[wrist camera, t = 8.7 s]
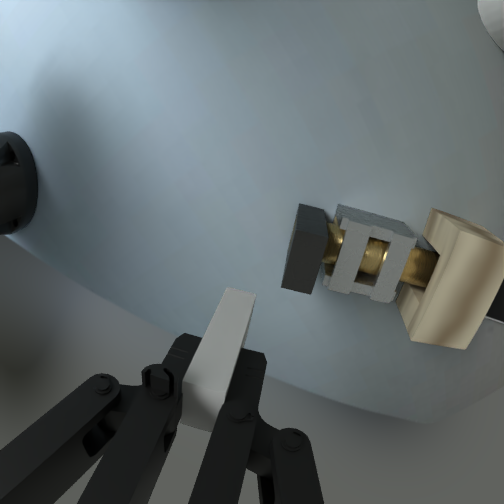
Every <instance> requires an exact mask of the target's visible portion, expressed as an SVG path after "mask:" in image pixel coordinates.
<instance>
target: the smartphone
mask: <svg viewBox="0 0 504 504" xmlns="http://www.w3.org/2000/svg"><path fill="white" fill-rule="evenodd" d="M484 318H487V319H491V320H494V321H497V322H500V323H503V324H504V279H503V281H502V283H501V285H500V288H499V290H498V292H497V294H496V296H495V298H494V300H493V302H492V304H491V306H490V308H489V310H488V312H487V313H486V315H485V317H484Z"/></svg>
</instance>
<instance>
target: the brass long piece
mask: <svg viewBox="0 0 504 504" xmlns="http://www.w3.org/2000/svg"><path fill="white" fill-rule="evenodd" d="M344 233H345V230H343V229H340V228H339V225H336V224H332V223H328V222H326V219H325V213H324V209H320V208H316V207H312V206H308V205H304V204H299V207H298V211H297V215H296V219H295V223H294V227H293V231H292V235H291V239H290V243H289V247H288V252H287V258H286V263H285V269H284V274H283V279H282V285H281V288H286V289H290V290H294V291H298V292H302V293H306V294H311V293H312V290H313V287H314V284H315V281H316V278H317V274H318V271H319V268H320V265H321V262H324V263H328V264H332V265H335V262H336V259H337V255H338V252H339V249H340V246H341V243H342V239H343V236H344ZM388 243H389V242H388V241H384V240H381V239H377V238H373V237H370V236H369V239H368V242H367V245H366V248H365V251H364V254H363V257H362V260H361V263H360V266H359V269H358V271H361V272H365V273H369V274H373V275H377V273H378V271H379V268H380V265H381V263H382V260H383V257H384V254H385V251H386V249H387V246H388ZM439 257H440V254H439V253H436V252H433V251H430V250H426V249H423V248H420V247H416V246H415V247H414V249H413V248H412V249H411V251H410V254H409V257H408V259H407V262H406V264H405V267H404V269H403V272H402V274H401V277H400V279H399V281H401V282H405V283H409V284H413V285H417V286H421V287H425V288H427V286H428V284H429V281H430V279H431V277H432V274H433V272H434V270H435V267H436V265H437V262H438V260H439Z"/></svg>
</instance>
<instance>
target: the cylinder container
mask: <svg viewBox="0 0 504 504" xmlns="http://www.w3.org/2000/svg"><path fill="white" fill-rule="evenodd" d="M478 11H479V14H480V18H481V20H482V22H483V25H484V27H485V28H486V30H487V32H488V33H489V35H490V36H491V38H492V39H493V40H494V42H495V43H496V44H497V45H498V46H499V47H500V48H501V49H502V50H503V51H504V0H478Z"/></svg>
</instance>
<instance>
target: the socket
mask: <svg viewBox="0 0 504 504" xmlns="http://www.w3.org/2000/svg"><path fill="white" fill-rule="evenodd" d="M423 236H424V237H425V239H426V240H427V241H428V242H429V243H430V244H431V245H432V246H433V247H434V249H435V250H436V251H437V252H438V253H439V254H440V257H439V260H438V262H437V265H436V267H435V270H434V272H433V274H432V277H431V279H430V281H429V284H428V286H427V288H425V287H421V286H417V285H413V284H409V283H405V282H404V284H403V286H402V289H401V291H400V293H399V295H398V298H397V300H396V304H397V306H398V309H399V311H400V314H401V316H402V319H403V321H404V324H405V326H406V329H407V332H408V334H409V337H410V340H411V341H416V342H422V343H427V344H433V345H439V346H445V347H451V348H457V349H464V350H466V348H467V347H468V345H469V343H470V342H471V340H472V338H473V337H474V335H475V333H476V332H477V330H478V328H479V326H480V324H481V323H482V321H483V319H484V317H485V315H486V313H487V312H488V310H489V308H490V306H491V304H492V302H493V300H494V298H495V296H496V294H497V292H498V290H499V288H500V285H501V283H502V281H503V279H504V242H503V241H501V240H500V239H499V238H498V237H496V236H495V235H493V234H492V233H491V232H489V231H488V230H487V229H485V228H484V227H483V226H480V225H478V224H475V223H472V222H470V221H467V220H465V219H462V218H459V217H456V216H454V215H451V214H448V213H445V212H443V211H440V210H437V209H434V208H431V211H430V214H429V217H428V220H427V223H426V226H425V229H424V232H423Z"/></svg>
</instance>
